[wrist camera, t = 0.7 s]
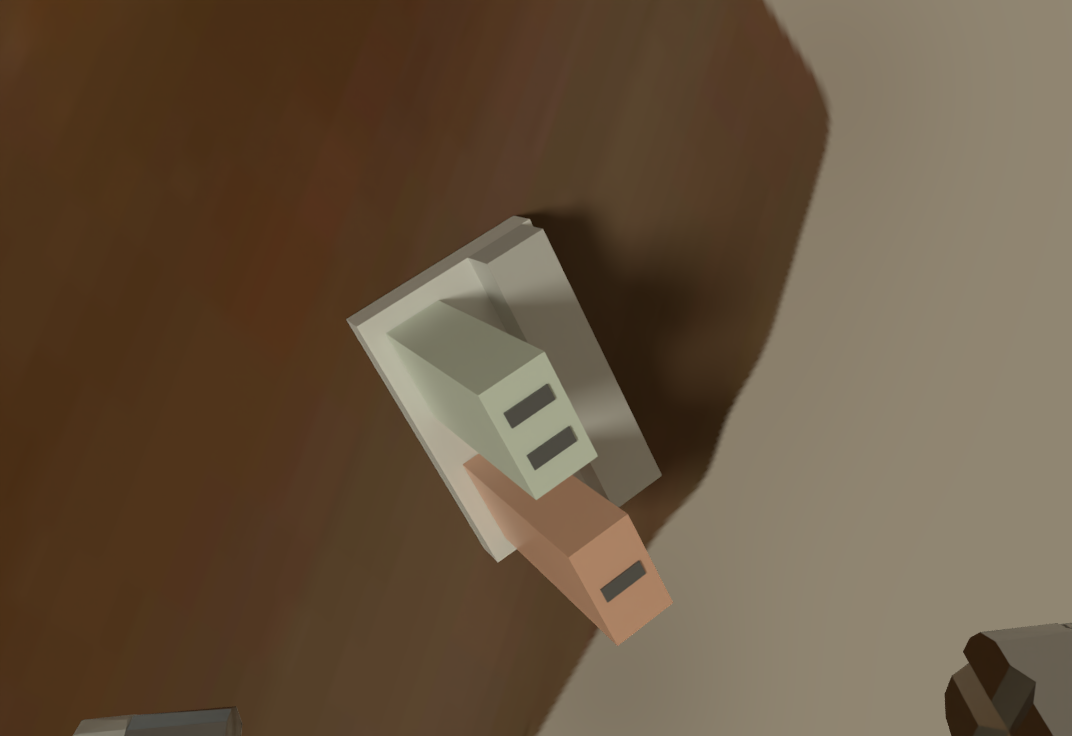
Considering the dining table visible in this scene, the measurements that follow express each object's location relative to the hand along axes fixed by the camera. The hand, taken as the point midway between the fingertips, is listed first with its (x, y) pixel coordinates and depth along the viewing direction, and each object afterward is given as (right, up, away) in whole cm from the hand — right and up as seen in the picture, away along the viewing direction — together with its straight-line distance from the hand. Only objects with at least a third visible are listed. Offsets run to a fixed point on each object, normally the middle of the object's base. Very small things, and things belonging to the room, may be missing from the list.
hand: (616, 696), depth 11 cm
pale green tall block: (-6, +4, +36) cm, 37 cm away
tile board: (-3, +3, +40) cm, 41 cm away
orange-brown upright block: (-2, -2, +40) cm, 40 cm away
